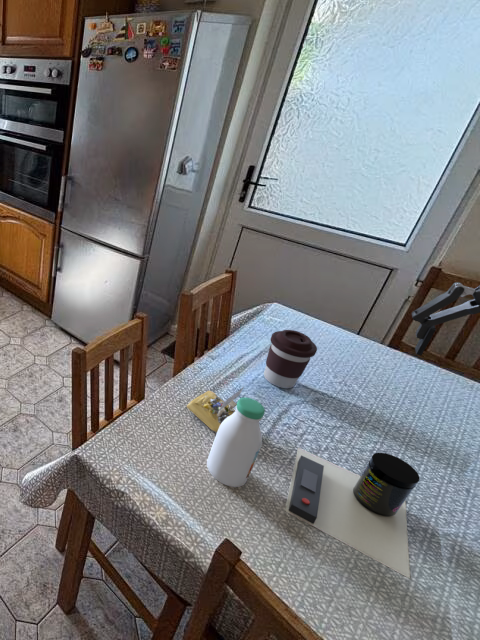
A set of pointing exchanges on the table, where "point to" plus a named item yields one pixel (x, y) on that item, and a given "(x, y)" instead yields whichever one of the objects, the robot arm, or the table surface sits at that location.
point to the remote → (306, 489)
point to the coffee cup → (288, 357)
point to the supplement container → (385, 484)
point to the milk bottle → (237, 444)
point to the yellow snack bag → (213, 408)
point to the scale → (356, 518)
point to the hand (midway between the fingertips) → (465, 365)
